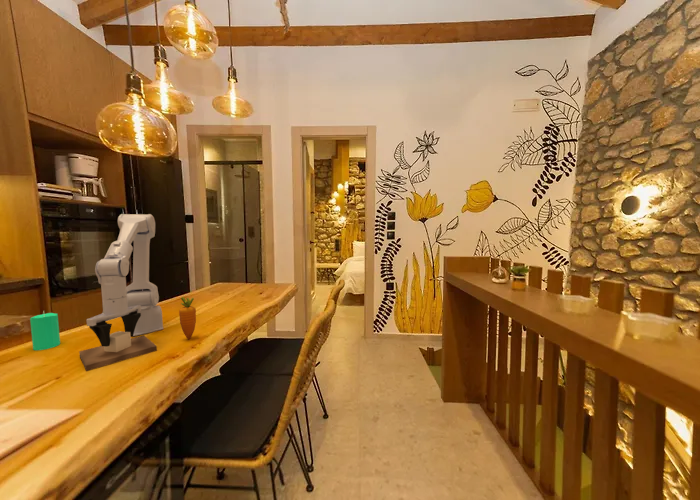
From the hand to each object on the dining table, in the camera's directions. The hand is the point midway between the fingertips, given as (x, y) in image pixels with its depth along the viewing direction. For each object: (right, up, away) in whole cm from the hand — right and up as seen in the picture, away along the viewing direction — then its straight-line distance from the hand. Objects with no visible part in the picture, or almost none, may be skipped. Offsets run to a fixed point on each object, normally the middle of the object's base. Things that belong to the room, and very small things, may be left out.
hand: (118, 340), depth 83 cm
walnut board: (0, -4, 0) cm, 4 cm away
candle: (-29, -4, +6) cm, 30 cm away
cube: (0, -2, 0) cm, 2 cm away
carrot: (+15, -3, +11) cm, 19 cm away
